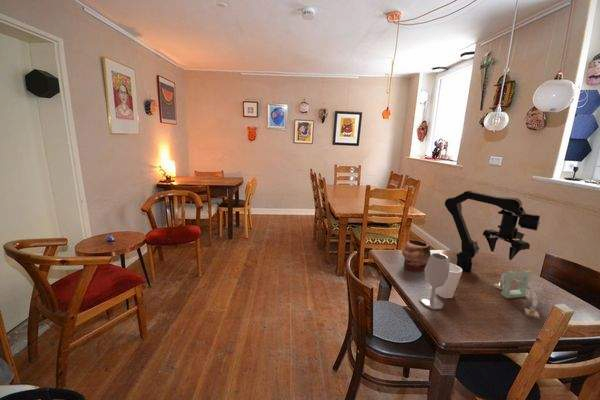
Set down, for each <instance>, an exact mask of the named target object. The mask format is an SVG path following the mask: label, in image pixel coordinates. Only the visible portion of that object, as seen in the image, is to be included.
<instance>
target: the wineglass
mask: <svg viewBox="0 0 600 400" xmlns="http://www.w3.org/2000/svg"><path fill="white" fill-rule="evenodd" d="M449 263H450V259H449V257H448V256H447V255H445V254H443V253H440V252H432V253H431V256H430V257H429V259H428V262H427V265H426V267H425V269H424V279H425V281H426V282H427V283H428V284H429V285H430V287H431V291H430V295H422V296H421V297H420V298H419V300H418V301H419V303H421V304H422V305H423V306H424V307H426V308H429V309H432V310H442V308H443V307H444V303H443V302H442V301H441V300H440V299H439V298H437V297H435V295H436V288H437V287H440V286H443V285H444V284H445V282H446V280H447V278H448V275H449Z"/></svg>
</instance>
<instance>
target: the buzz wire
mask: <svg viewBox="0 0 600 400" xmlns="http://www.w3.org/2000/svg"><path fill="white" fill-rule="evenodd" d="M506 276H507V272H503V273H501V275H500V280H499V282H498V283H493V285H492V286H493V287H494V288H496V289H498V291H499V290H500V291H503V288H504V284H505V280H506ZM512 282H515V283H517V284H519V286H520V285H522V286H524V287H526V289H528V290H529V292H530V294H531V297H532V300H531V303H530V307H529V308H526V307H524V308H523V311H524V315H525V316H527V317H529V318H533V319H537V320H540V314H539V312H538V311H537V310H536V309H537V306H538V303H539V298H538V296H537V294H536V291H535V289H534V287H533V286H531V285H529V284H525V283H523V282H521V280H519V279H517V278H516V277H515V278H513V279H512Z"/></svg>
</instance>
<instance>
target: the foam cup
mask: <svg viewBox="0 0 600 400" xmlns="http://www.w3.org/2000/svg"><path fill="white" fill-rule="evenodd" d="M462 273H463V271H462V269H461V268H460V267H459V266H457V265H456V263H455V264H454V263H452V262H449V275H448V278H447V280H446V282H445V284H444V285H443V286H440V287H437V288H436V290H435V294H437V295H438V296H440V297H441V298H443V299H447V298H451V299H453V297H454V294H455V292H456V289H457V286H458V284H459V282H460V278H462Z"/></svg>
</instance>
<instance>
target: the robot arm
mask: <svg viewBox="0 0 600 400" xmlns="http://www.w3.org/2000/svg"><path fill="white" fill-rule="evenodd" d="M468 200H471V201H472V200H473V201H476V202H480V203H484V204H488V205H492V206H496V207H498V208H500V209H501V210H500V211H498V212H497V214H498V215H501V221H500V224H499V225H497V228H499V230H495V229H485V230H483V232H482V236H484V238H485V239H486V241H487V244H488V247H489V249H490V252H494V251H495V250H496V249H495V248H496V245H497V242H498V240H502V241H505V242H507V243H509V244H510V245H511V246H509V251H508V252H509V253H508V259H509V261H512V260H513V259H514V258H515V257H516V256H517V254H519V252H520V251H522V250H523V251H525V250H529V249H530V248H531V245H530V243H529V242H528V241H525V240H523V238H524V237H525V233H522V232H520V231H519V228H518V227H517V225H518V226H519V227H520V228H521V229H527V230H531V231H536V232H537V231H538V230H539V227H540V223H541V222H540V219H541V215H540V214H539V215H538V214H530V213H527V212H526V210H525V209H524V208H523V206H522V205H523V203H522V200H521V199H520V198H518V197H508V196H507V197H506V196H503V197H502V196H496V195H495V196H494V195H490V194H486V193H482V192H481V193H480V192H476V191H474V190H473V191H472V190H466V191H463V193H460V194H458V195H457V196H452V197H449V198H447V199H445V201H444V206H445V208H446V209H447V211H448V212H449V214H450V215H451V216H452V218H453V220H454V221H453V222H454V224H455V227H456V230H457V233H458V235H459V238H460V240H461V244H460V245H461V251H460V252H458V253H456V263H455V265H457V266H459V267H460V268H461V269H462V272H466V273H471V270H472V267H473V261H472V260H473V258H474V257H475V256H477V255H478V254H479V253H480V248H481V247H479V244H478V241H476V240H475V241H474V240H473V239H472V238H471V234H470V232H469V230H468V227H467V224H466V221H465V218H464V216H463V213H462V211H463V210H462V209H463V207H462V203H464V202H466V201H468Z"/></svg>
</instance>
